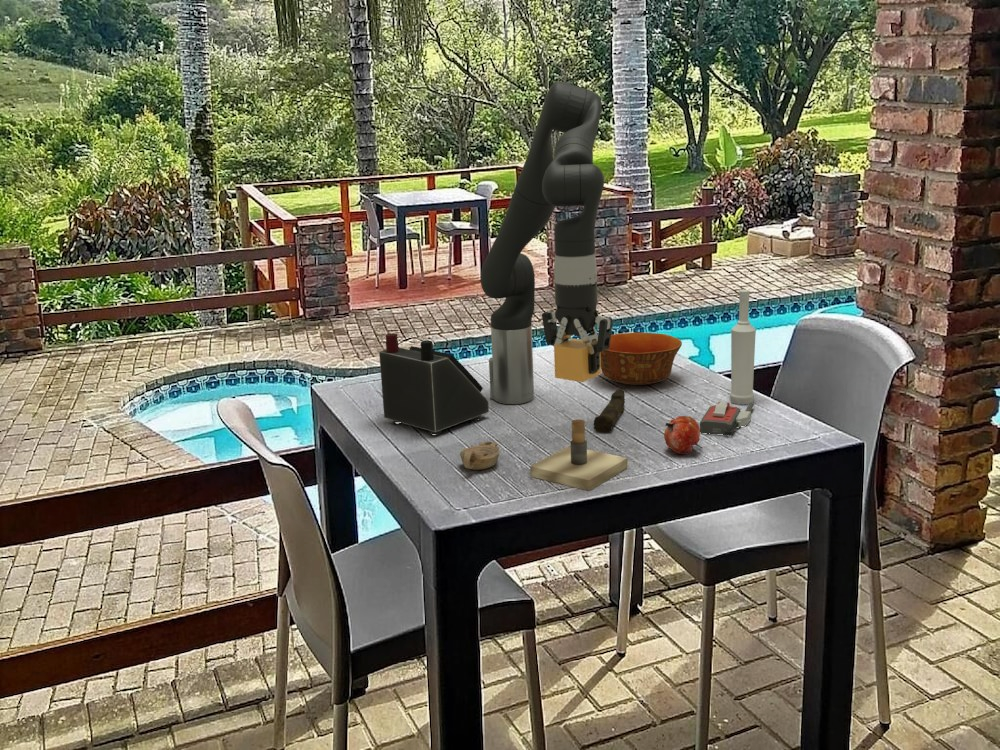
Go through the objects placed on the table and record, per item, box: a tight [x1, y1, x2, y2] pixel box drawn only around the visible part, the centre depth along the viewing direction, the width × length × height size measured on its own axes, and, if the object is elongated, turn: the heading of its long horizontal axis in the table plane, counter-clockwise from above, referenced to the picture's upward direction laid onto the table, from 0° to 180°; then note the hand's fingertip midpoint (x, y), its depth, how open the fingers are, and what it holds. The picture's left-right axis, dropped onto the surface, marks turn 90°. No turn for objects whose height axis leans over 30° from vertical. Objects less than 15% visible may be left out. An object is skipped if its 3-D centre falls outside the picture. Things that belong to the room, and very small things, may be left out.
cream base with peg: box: [529, 418, 628, 491], centre depth 195 cm, size 13×13×10 cm
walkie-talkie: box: [699, 401, 754, 436], centre depth 220 cm, size 9×4×20 cm
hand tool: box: [593, 388, 626, 434], centre depth 225 cm, size 19×4×5 cm, turn 159°
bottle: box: [729, 289, 757, 405], centre depth 229 cm, size 5×5×25 cm
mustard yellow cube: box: [553, 337, 602, 383], centre depth 190 cm, size 6×6×6 cm
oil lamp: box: [459, 441, 500, 471], centre depth 201 cm, size 13×8×5 cm, turn 157°
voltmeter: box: [378, 333, 490, 435], centre depth 226 cm, size 16×16×20 cm
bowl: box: [601, 332, 683, 386], centre depth 250 cm, size 21×21×10 cm
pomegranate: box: [663, 415, 703, 455], centre depth 204 cm, size 7×7×10 cm
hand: (578, 370), depth 191 cm, fingers closed on mustard yellow cube, 6 cm apart
